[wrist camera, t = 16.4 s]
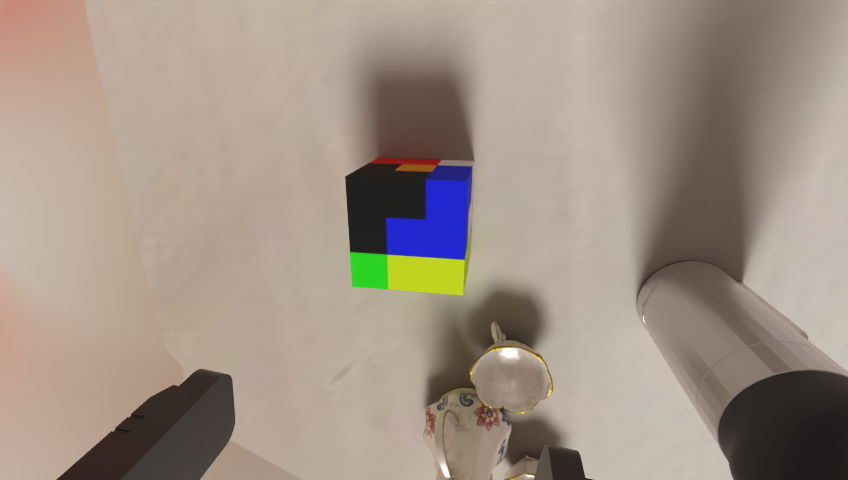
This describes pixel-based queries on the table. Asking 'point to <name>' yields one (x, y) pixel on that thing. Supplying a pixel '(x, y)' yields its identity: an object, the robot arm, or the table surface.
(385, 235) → the puzzle toy
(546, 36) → the table surface
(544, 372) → the chinaware
